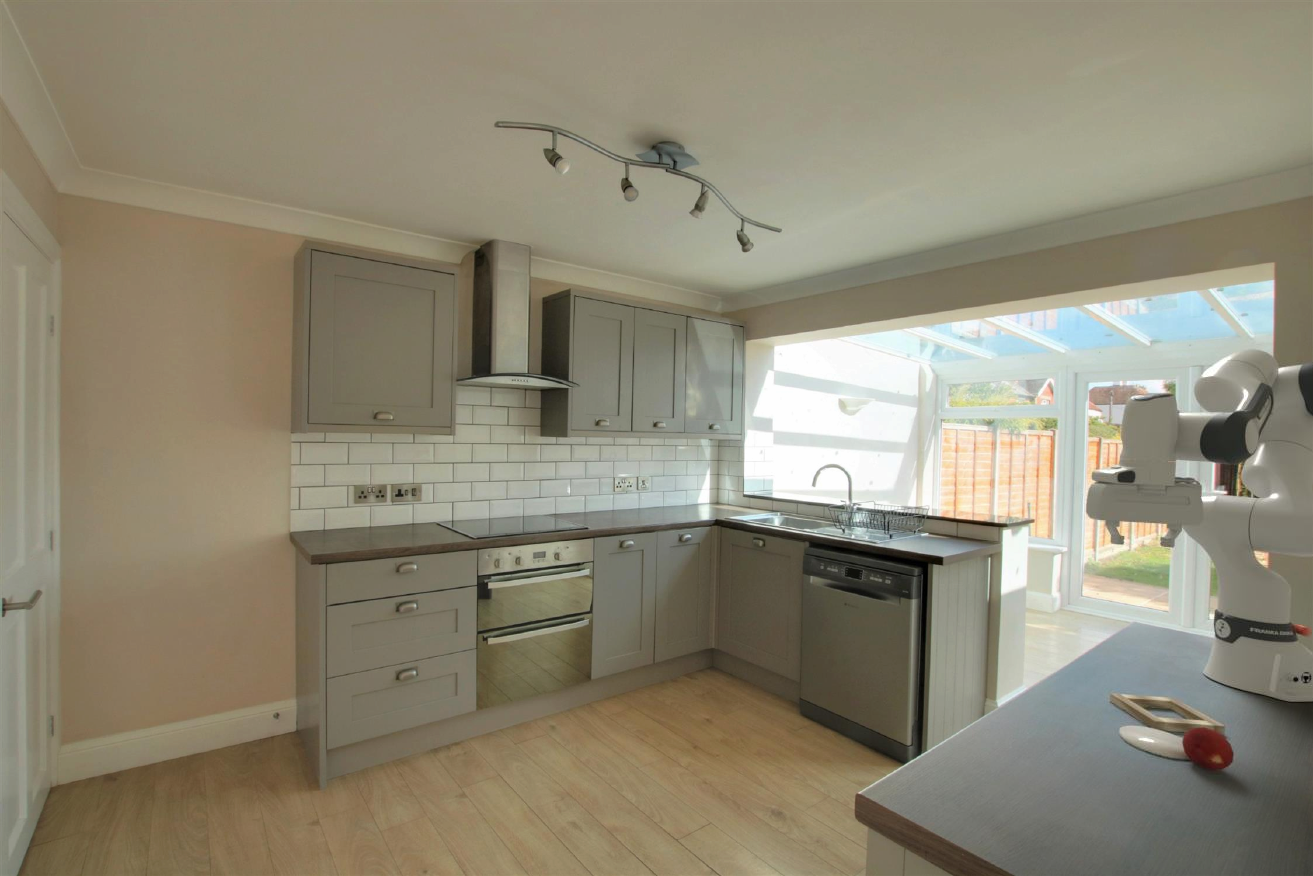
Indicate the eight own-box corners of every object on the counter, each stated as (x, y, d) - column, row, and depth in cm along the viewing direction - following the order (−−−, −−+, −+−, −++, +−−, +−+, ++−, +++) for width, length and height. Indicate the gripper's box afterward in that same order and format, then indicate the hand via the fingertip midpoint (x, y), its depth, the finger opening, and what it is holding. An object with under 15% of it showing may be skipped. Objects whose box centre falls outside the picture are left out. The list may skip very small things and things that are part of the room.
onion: (1195, 763, 100) (1212, 788, 93) (1167, 729, 102) (1181, 752, 95) (1233, 746, 98) (1253, 771, 91) (1204, 713, 100) (1221, 734, 92)
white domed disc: (1165, 731, 108) (1166, 727, 108) (1214, 761, 98) (1214, 758, 98) (1105, 727, 109) (1105, 723, 109) (1147, 756, 99) (1147, 753, 99)
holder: (1173, 705, 120) (1173, 697, 120) (1224, 734, 108) (1224, 726, 108) (1109, 701, 120) (1110, 693, 120) (1154, 729, 109) (1154, 721, 109)
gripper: (1189, 476, 127) (1184, 545, 127) (1083, 471, 128) (1079, 539, 128) (1215, 479, 121) (1210, 551, 121) (1103, 473, 122) (1099, 545, 122)
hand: (1142, 545), depth 125 cm, fingers open, 8 cm apart
